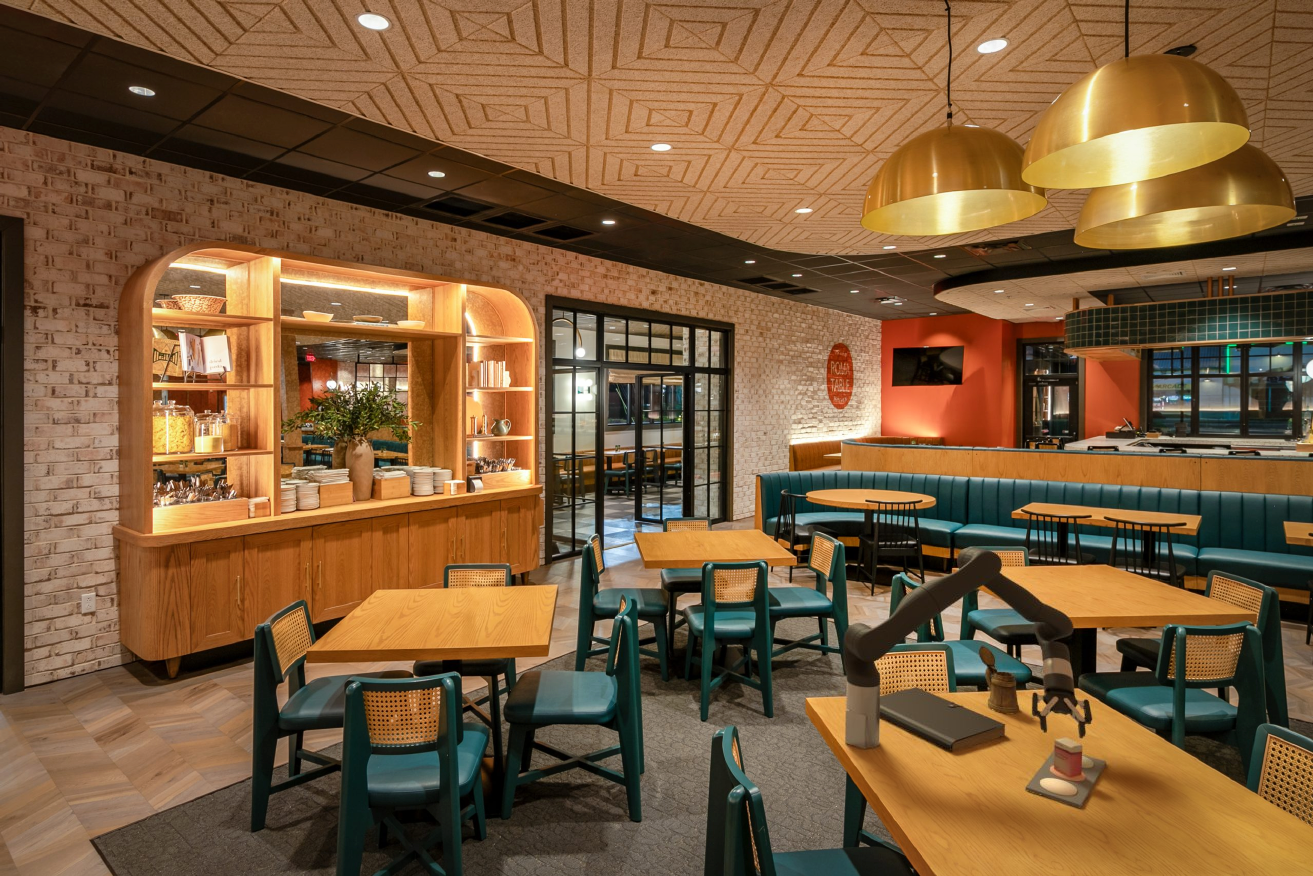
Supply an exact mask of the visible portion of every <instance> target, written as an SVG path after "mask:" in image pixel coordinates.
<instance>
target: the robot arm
mask: <svg viewBox="0 0 1313 876" xmlns="http://www.w3.org/2000/svg"><path fill="white" fill-rule="evenodd" d="M956 563H957V568H958V569H957V570H955V571H954V572H952V573H949V574H947V575H944V576H941V577H938V578H934V579H931V580H929V581H926V582H923V583H921V584H920V585H918V586H917V587H915V588H914V589H913V590H911V591H909V592H908V593H907V594H905V595H904V597H903V598H902V599H901V600H900V602H899V603H898V605H897V606H896V609H894V612H893V613H892V614H891V615H890V617H888V618H887V619H885V620H884V621H883V622H882V623H879V624H878V625H876V626H874V627H871V626H870V625H868V624H865V623H862V622H856V623H853V624H851V625H850V626H849V627H848V628H847V629H846V631H845V633H844V637H843V665H844V670H845V674H846V696H845V697H846V701H845V702H846V703H845V705H846V706H845V731H844V732H845V734H844V735H845V737H844V743H845V744H848V745H850V746H853V747H856V748H859V749H861V750H866V749H873V748H876V747H878V746H879V745H880V723H881V722H880V719H881V717H880V696H881V674H880V672H879V669H877V666H876V663H875V662H877V661H878V660H880V659H881V658H883V657H884V656H885V655H886V654H888V652H890V651H891V650H892V649H893V648H894V647H895V646H896V645H898V644H899V643H900V642H901V641H903V639H906V637H908V636H909V635H911V634H912V633H913V632H915V631H917V629H919V628H920V627H922V626H923V625H925V624H926V623H928V622H929V621H931V620H932V619H934V618H935V617H937V616H938V615H940V614H942V612H943V611H945V610H947V609H948V608H949V607H951V606H953V605H954V604H955V603H957V602H958V601H960V600H961V599H963V598H964V597H965V596H966V595H968V594H970V593H971V592H974V591H975V590H976V589H979V588H981V587H984V588H986V589H987V590H989V591H990V592H991V593H993V594H994V595H995V596H997V597H998V599H999V598H1000V600H1002V601H1003V602H1005V604H1007V605H1008V606H1009V607H1010V608H1011V609H1013V610H1014V611H1015V612H1016V613H1018V615H1020V616H1021V617H1022V618H1024V620H1026V621H1028V622H1029V623H1033V627H1032V628H1033V631H1034V634H1035V637H1036V639H1037V642H1038V644H1039V647H1040V650H1041V657H1042V658H1041V659H1042V669H1041V670H1042V682H1043V683H1042V684H1043V695H1041V694H1038V693H1037V692H1035V691H1034V692H1033V693H1032V697H1031V715H1032V716H1033V717H1037V718H1038V719H1039V728H1040V730H1041V731H1043V733H1046V734H1047V733H1048V723H1047V722H1048V721H1047V716H1049V715H1050V714H1051V713H1054V714H1059V715H1060V714H1061V715H1065V716H1067V715H1069V716H1070V717H1071V718H1072V719H1074V720H1075V721H1076V722H1077V723H1078V725H1077V730H1078V737H1079V739H1083V738H1085V736H1086V734H1087V730H1086V725H1091V724H1092V721H1093V715H1092V709H1091V706H1090V701H1089V700H1088V699H1086V698H1085V699H1084V700H1079V699H1077V698H1076V694H1075V692H1076V691H1075V685H1074V677H1073V676H1074V674H1073V669H1072V665H1071V657H1070V649H1069V647H1068V645H1066V644H1065V643H1063V642H1060V641H1055V640H1059V639H1062V638H1066V637H1068V636H1070V635H1072V634H1073V632H1074V624H1073V623H1074V622H1072V620H1071V618H1070V617H1069V616H1068V615H1067V614H1065V613H1064V612H1063V611H1061V610H1060V609H1057V608H1055V607H1053V606H1051V605H1049V604H1047V603H1044V602H1042V601H1041V600H1040V599H1039V598H1038V597H1037V596H1035V595H1034V594H1033V593H1032V592H1030V591H1029V590H1028V589H1026V588H1025V587H1023V586H1022V585H1020V584H1018V583H1017V582H1016V581H1013V580H1011V579H1010V578H1008V577H1007V576H1005V575H1004V574H1002V572H1001V570H1002V568H1003V562H1002V558H1001V557H1000V556H999V555H998V554H997V553H996V552H994V551H991V550H988V549H986V548H980V547H975V546H974V547H973V546H971V547H969V546H968V547H966V548H963V549H962V550H960V552H959V553H958V555H957V557H956ZM1042 701H1043V703H1044V704H1045V706H1044V708H1043V709H1042V710H1041V711H1040V710H1038V709H1039V707H1038V704H1040V703H1041V702H1042ZM1077 706H1079V707H1080V709H1081V710H1083V713H1084V716H1083V715H1082V714H1081V713H1080V711H1079V710H1078V709H1077Z"/></svg>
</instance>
